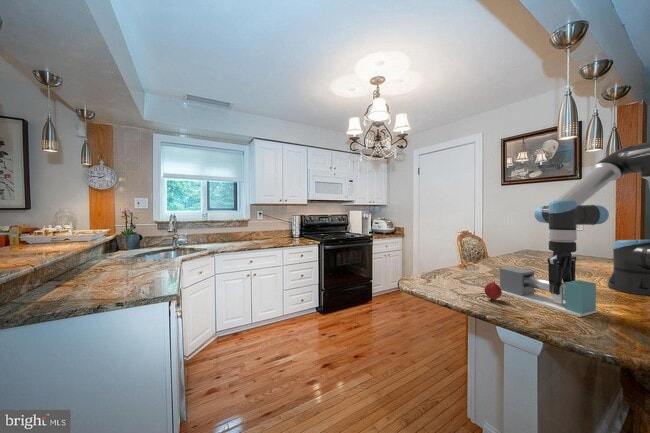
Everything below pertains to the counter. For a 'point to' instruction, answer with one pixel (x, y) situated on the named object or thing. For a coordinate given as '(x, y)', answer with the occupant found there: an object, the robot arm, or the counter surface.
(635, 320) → the counter surface
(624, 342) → the counter surface
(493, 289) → the onion
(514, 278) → the sleeve
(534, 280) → the slip tube
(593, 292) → the socket
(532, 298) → the board
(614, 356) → the counter surface
